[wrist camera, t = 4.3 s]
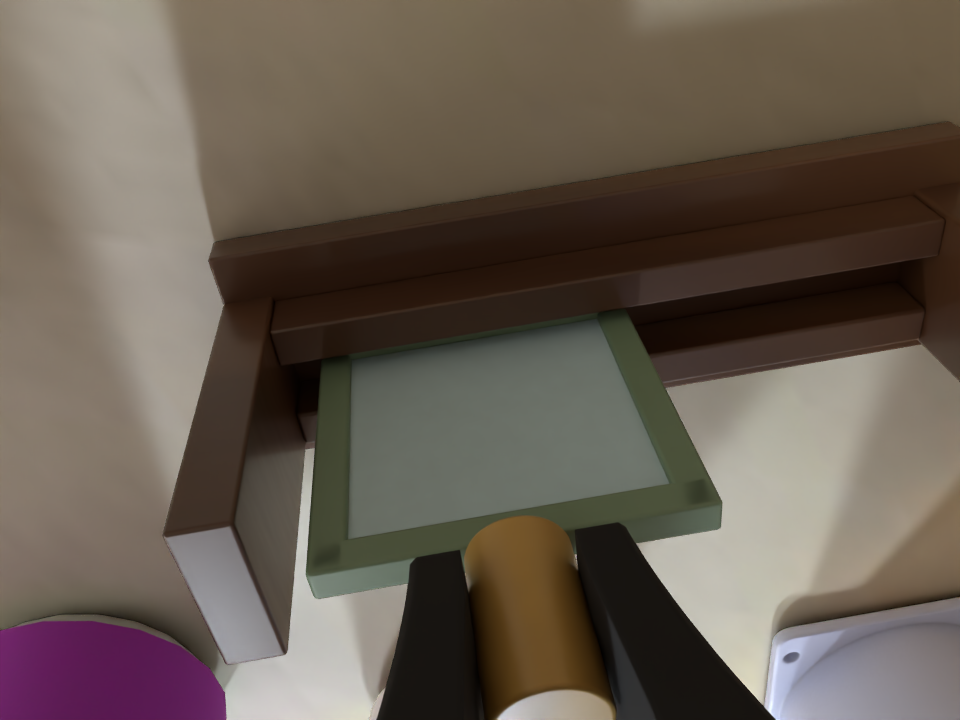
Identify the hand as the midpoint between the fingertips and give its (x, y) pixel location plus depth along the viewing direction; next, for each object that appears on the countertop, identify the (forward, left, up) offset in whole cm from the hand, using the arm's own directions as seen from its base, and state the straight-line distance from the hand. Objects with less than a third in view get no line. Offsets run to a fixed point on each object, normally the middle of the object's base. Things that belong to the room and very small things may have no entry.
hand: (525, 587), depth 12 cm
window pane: (0, 0, -7) cm, 7 cm away
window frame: (0, -3, -8) cm, 8 cm away
